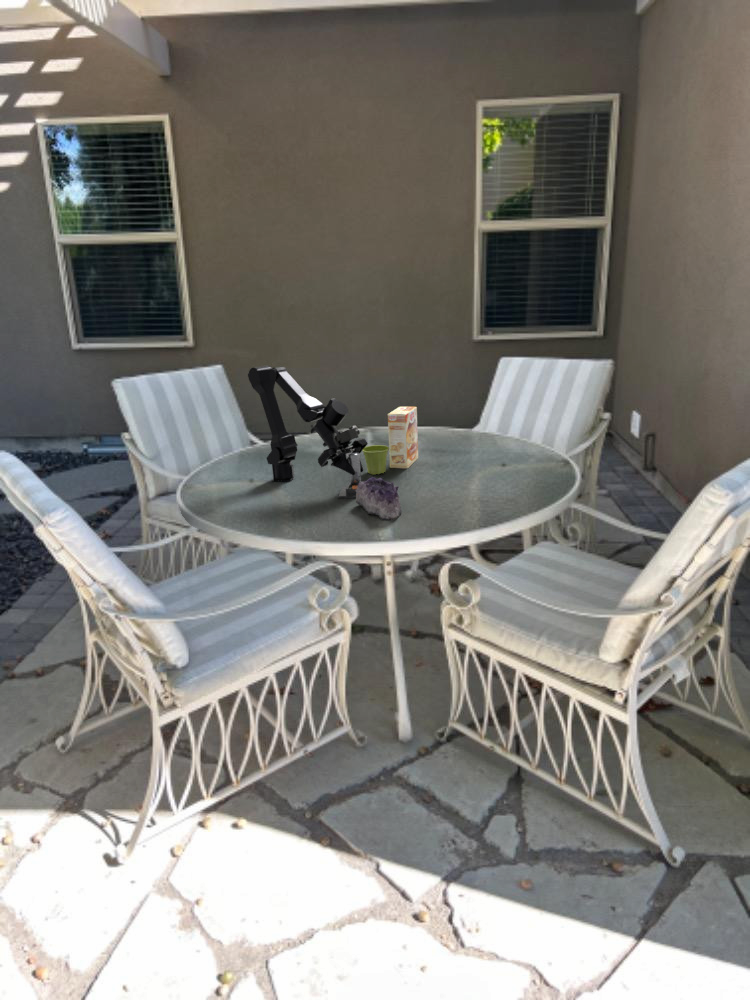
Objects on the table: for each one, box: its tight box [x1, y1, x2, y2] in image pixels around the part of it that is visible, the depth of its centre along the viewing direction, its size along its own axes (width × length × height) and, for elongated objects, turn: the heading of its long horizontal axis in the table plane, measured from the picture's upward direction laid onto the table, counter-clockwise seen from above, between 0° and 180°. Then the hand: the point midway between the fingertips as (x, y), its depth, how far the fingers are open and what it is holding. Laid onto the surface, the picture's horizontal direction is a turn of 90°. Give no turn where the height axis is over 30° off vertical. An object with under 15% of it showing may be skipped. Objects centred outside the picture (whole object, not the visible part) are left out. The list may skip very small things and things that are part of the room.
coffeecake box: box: [387, 406, 419, 469], centre depth 250 cm, size 15×7×20 cm, turn 161°
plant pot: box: [361, 444, 389, 475], centre depth 241 cm, size 9×9×9 cm
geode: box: [355, 476, 402, 521], centre depth 202 cm, size 20×12×10 cm, turn 22°
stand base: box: [337, 483, 358, 500], centre depth 220 cm, size 10×10×3 cm
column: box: [349, 453, 362, 488], centre depth 218 cm, size 4×4×12 cm
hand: (358, 472), depth 217 cm, fingers closed on column, 3 cm apart
